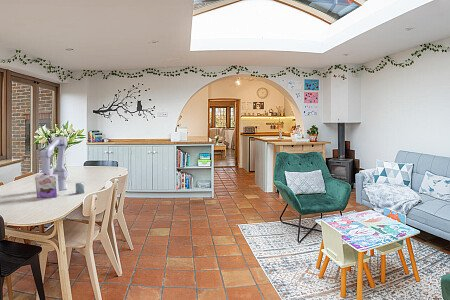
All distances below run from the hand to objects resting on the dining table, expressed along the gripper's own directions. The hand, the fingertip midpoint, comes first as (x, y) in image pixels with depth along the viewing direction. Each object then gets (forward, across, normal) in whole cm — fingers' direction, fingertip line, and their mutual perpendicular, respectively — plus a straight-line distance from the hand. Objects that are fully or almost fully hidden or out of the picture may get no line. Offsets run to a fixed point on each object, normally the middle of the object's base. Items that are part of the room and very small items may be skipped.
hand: (46, 183), depth 235 cm
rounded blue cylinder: (+10, +7, +22) cm, 25 cm away
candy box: (+9, +5, 0) cm, 10 cm away
